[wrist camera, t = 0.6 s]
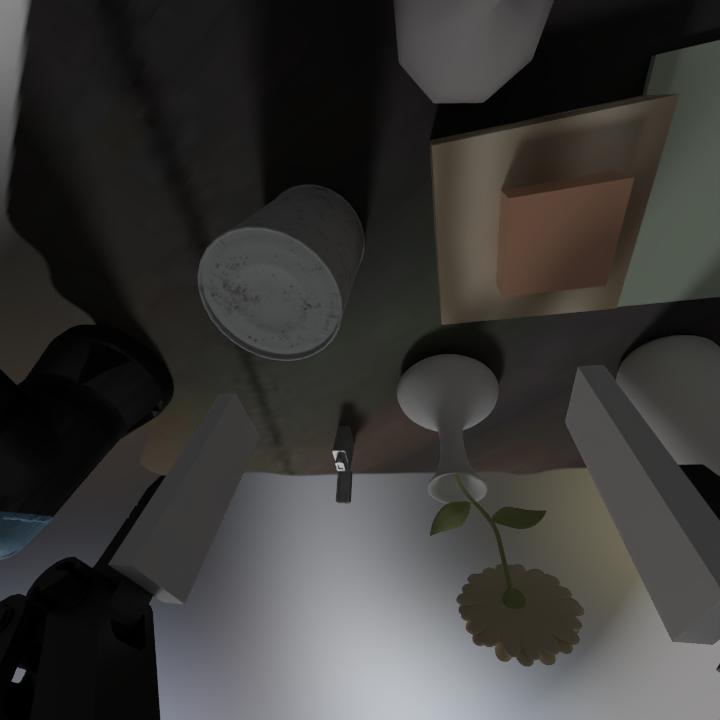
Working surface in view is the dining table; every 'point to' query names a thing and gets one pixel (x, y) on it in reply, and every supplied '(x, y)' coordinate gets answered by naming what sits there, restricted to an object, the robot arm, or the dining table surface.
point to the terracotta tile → (560, 233)
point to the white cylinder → (284, 274)
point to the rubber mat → (682, 186)
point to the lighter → (343, 463)
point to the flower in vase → (461, 488)
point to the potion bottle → (467, 44)
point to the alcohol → (678, 395)
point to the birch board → (529, 167)
